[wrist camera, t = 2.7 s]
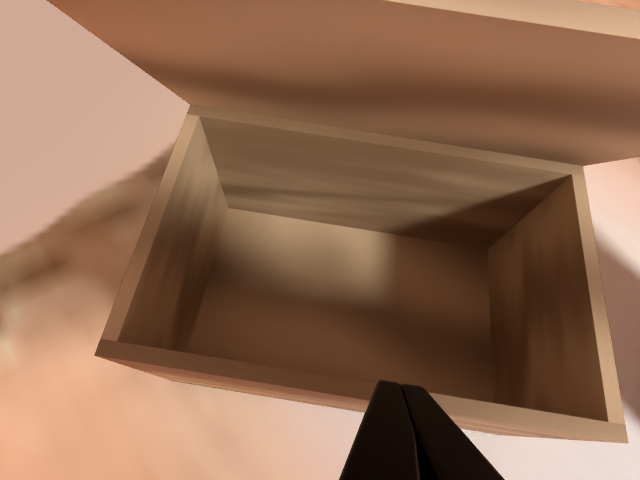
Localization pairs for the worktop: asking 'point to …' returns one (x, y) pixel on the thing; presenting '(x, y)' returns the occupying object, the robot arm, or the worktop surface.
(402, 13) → the flap
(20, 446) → the worktop surface
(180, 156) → the light wood open box
